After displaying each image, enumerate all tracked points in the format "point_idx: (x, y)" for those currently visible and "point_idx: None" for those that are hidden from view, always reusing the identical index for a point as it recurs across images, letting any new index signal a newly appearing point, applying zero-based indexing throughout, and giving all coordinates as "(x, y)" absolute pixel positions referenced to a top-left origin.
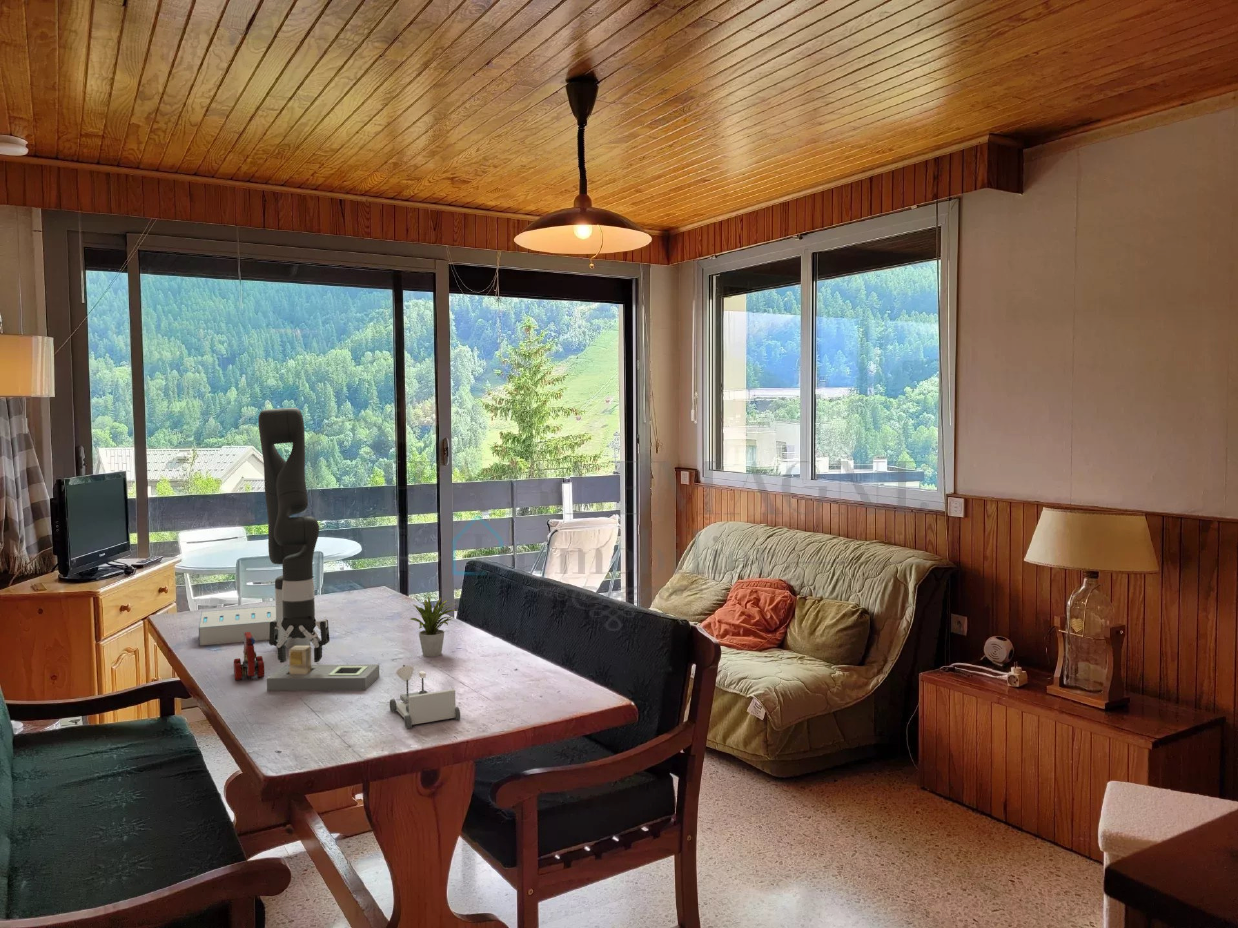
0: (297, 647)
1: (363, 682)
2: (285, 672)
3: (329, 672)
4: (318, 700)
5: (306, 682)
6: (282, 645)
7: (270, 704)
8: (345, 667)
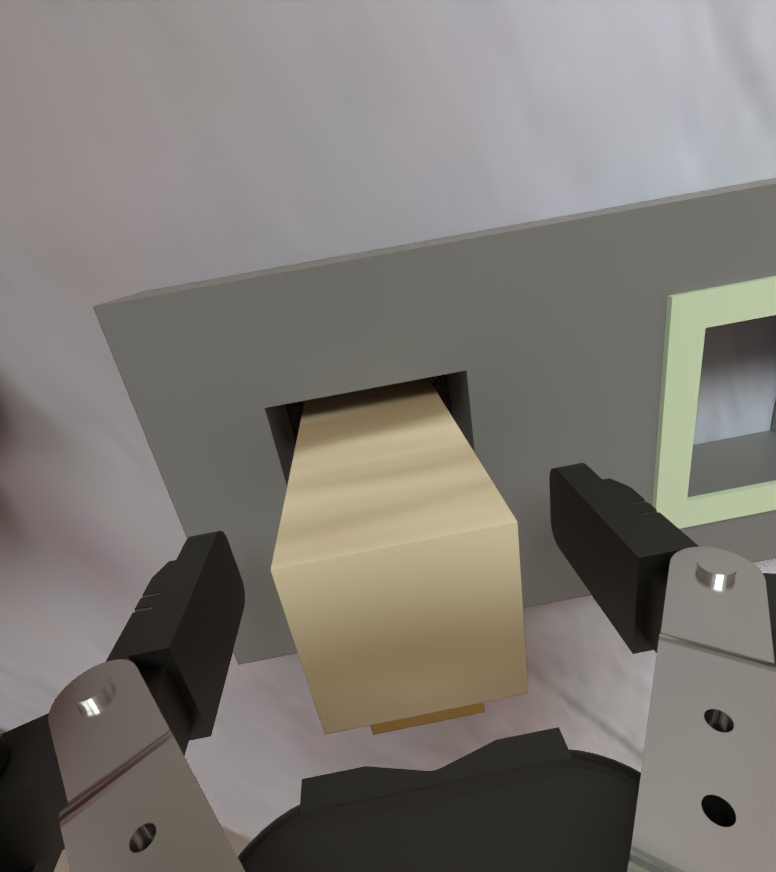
0: (374, 640)
1: None
2: (277, 529)
3: (635, 462)
4: (620, 664)
5: None
6: (180, 745)
7: (417, 746)
8: (744, 320)
